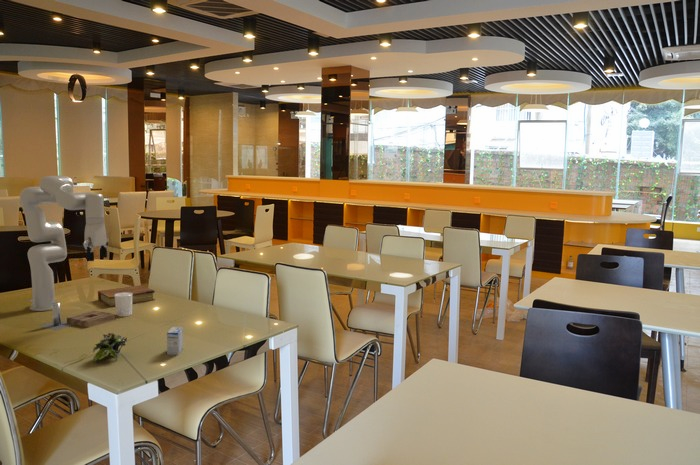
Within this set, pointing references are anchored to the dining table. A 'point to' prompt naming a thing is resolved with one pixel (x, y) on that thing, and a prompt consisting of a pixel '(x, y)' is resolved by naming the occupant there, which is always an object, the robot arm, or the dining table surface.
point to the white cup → (123, 304)
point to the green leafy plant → (109, 346)
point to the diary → (138, 292)
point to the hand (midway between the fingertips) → (97, 259)
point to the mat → (50, 326)
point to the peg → (56, 314)
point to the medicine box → (174, 340)
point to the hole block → (90, 318)
